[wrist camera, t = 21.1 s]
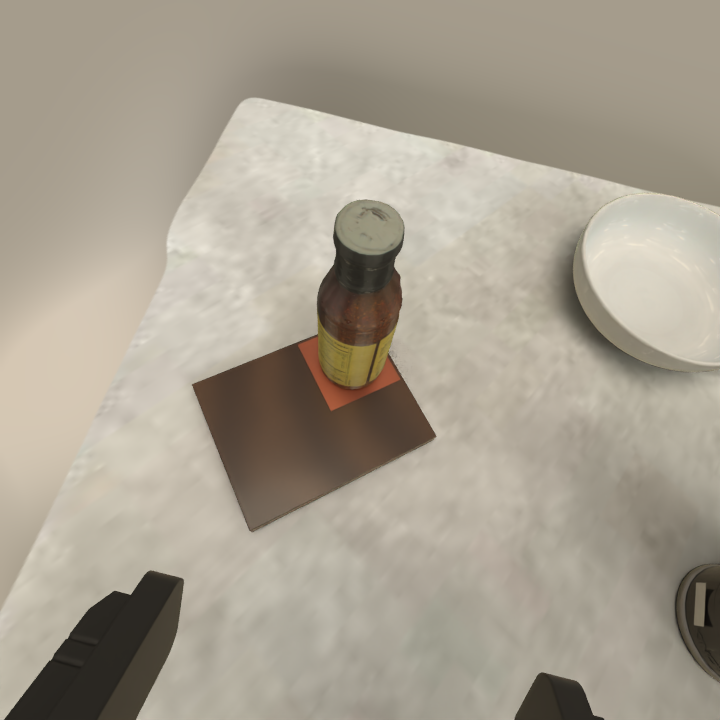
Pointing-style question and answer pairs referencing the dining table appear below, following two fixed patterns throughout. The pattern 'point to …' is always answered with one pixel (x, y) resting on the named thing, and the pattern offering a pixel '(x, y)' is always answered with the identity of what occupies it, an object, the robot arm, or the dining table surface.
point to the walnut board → (304, 429)
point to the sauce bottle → (360, 294)
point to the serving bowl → (653, 279)
